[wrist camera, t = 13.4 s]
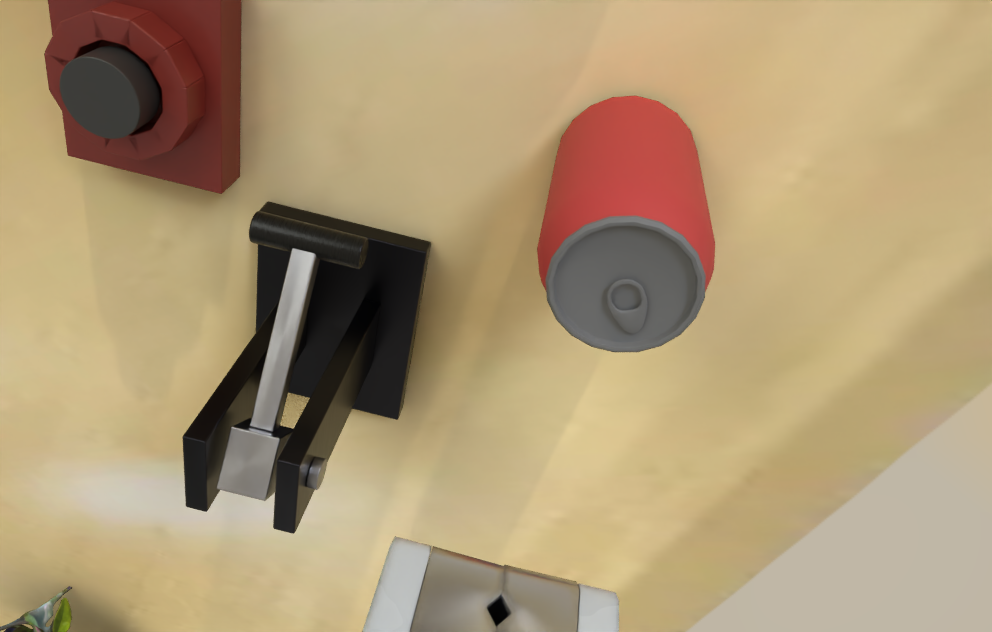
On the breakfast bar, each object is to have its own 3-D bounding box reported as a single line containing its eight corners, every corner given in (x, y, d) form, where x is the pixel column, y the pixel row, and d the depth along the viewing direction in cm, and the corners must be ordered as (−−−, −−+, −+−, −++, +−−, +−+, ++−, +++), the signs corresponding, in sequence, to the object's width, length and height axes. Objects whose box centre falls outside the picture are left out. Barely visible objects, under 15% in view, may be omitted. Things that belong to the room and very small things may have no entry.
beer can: (572, 232, 39) (553, 375, 30) (542, 108, 36) (510, 223, 26) (704, 208, 38) (731, 353, 28) (686, 76, 34) (708, 187, 24)
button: (78, 36, 34) (53, 47, 32) (158, 56, 34) (137, 68, 32) (86, 115, 36) (64, 128, 34) (162, 134, 36) (142, 148, 34)
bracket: (267, 200, 41) (127, 353, 30) (431, 241, 41) (355, 410, 30) (261, 372, 48) (146, 550, 36) (402, 407, 48) (331, 596, 36)
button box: (70, -66, 35) (12, -52, 32) (242, -24, 35) (201, -6, 31) (92, 140, 40) (44, 169, 37) (240, 176, 40) (205, 210, 37)
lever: (267, 213, 35) (249, 207, 33) (372, 239, 35) (363, 235, 33) (206, 468, 36) (184, 481, 33) (310, 494, 36) (296, 509, 33)
